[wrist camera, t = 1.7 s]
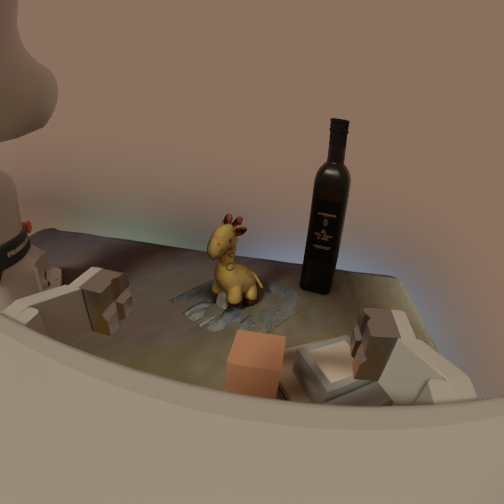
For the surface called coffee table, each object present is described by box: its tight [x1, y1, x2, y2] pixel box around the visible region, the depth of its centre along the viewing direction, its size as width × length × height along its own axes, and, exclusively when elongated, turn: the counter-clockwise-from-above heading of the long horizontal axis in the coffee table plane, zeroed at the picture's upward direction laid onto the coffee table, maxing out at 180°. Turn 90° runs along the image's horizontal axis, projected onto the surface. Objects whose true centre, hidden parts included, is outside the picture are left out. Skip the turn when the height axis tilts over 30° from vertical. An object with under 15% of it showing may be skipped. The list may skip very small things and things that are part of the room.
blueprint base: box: [278, 335, 396, 406], centre depth 31 cm, size 15×11×5 cm
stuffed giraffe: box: [169, 214, 300, 337], centre depth 45 cm, size 16×18×16 cm
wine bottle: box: [300, 118, 351, 294], centre depth 48 cm, size 6×6×30 cm
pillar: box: [226, 330, 286, 399], centre depth 27 cm, size 4×4×10 cm
